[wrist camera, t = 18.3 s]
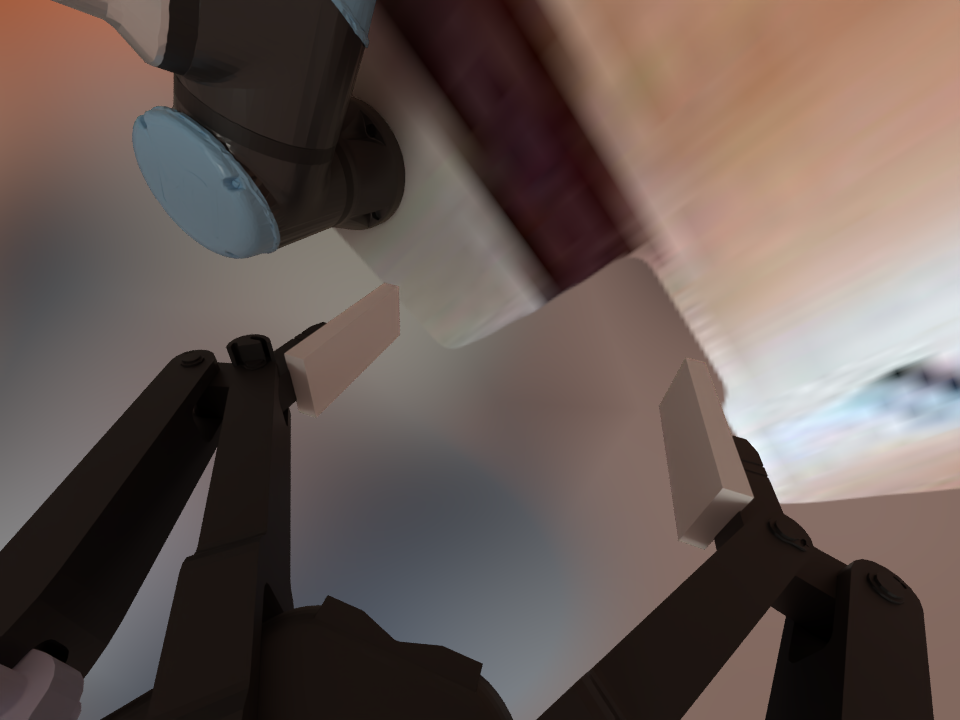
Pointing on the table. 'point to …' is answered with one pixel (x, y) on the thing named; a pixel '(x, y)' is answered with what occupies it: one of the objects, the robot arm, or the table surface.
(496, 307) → the table surface
